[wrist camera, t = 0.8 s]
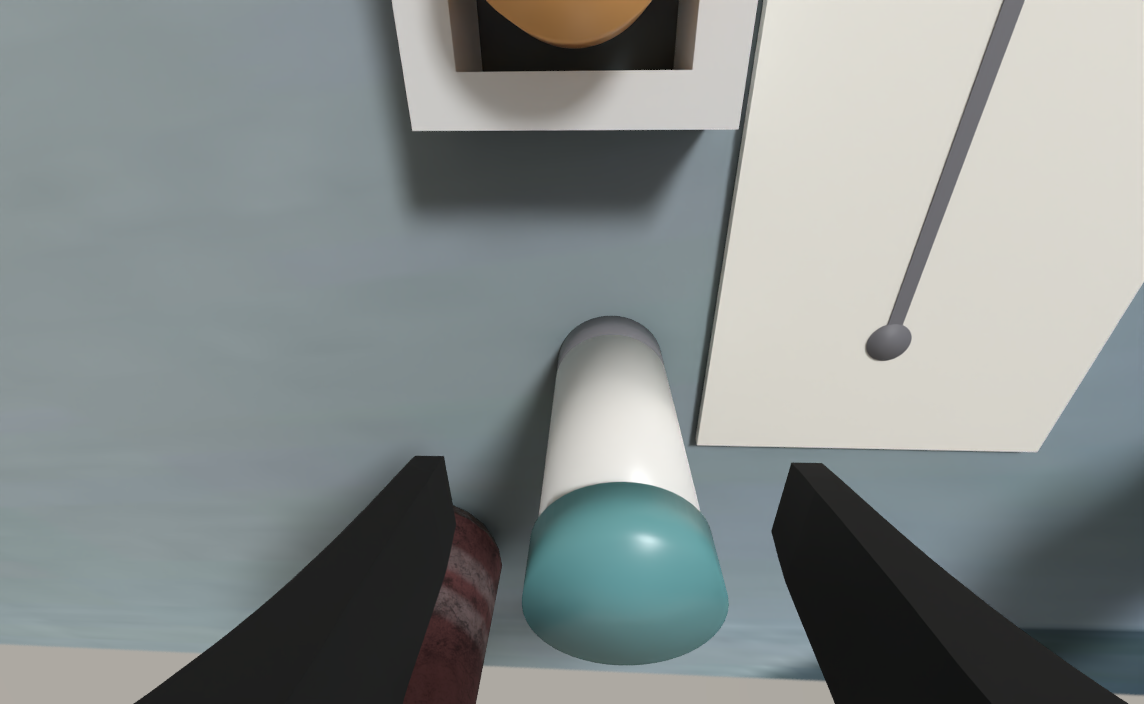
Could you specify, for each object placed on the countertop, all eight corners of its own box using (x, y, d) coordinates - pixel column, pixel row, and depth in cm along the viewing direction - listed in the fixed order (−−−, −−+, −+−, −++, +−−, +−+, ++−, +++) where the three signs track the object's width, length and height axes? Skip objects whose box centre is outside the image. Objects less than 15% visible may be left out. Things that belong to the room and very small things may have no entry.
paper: (1617, -518, 7) (1663, -545, 7) (1029, 446, 16) (1038, 453, 15) (837, -476, 7) (847, -500, 7) (695, 439, 16) (697, 446, 16)
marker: (669, 313, 14) (745, 544, 7) (659, 407, 16) (712, 668, 9) (554, 312, 14) (515, 537, 7) (556, 405, 16) (527, 661, 9)
